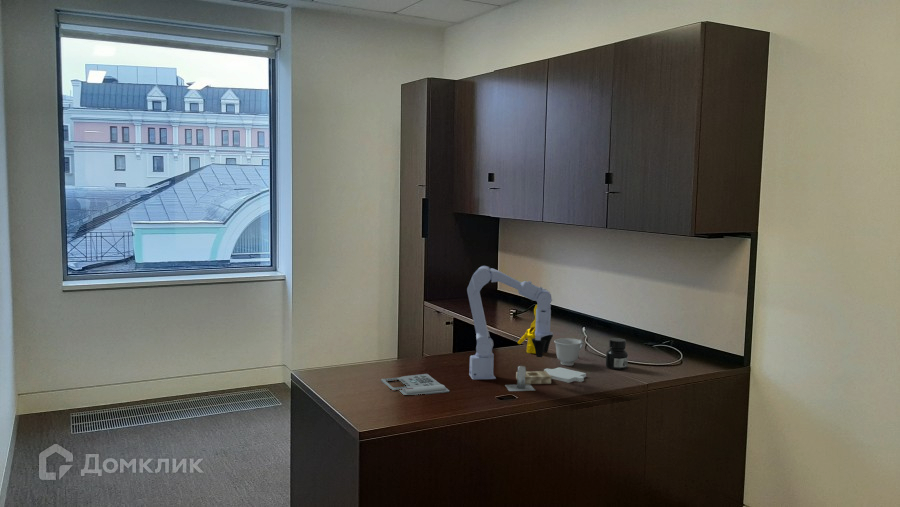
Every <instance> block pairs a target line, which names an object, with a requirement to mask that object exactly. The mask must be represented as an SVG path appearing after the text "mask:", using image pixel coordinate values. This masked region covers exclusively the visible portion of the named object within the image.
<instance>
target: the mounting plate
mask: <svg viewBox="0 0 900 507" xmlns="http://www.w3.org/2000/svg"><path fill="white" fill-rule="evenodd" d="M543 371H546V372H547V373H548V374H549V375H550V376H551V380H556V381H560V382H565V383H567V384H570V383H572V382H579V383H582V382H584V380H585V378H586V377H587V373H586V372H582V371H578V370H573V369H569V368H565V367H559V366H558V367H556V368H544V369H543Z"/></svg>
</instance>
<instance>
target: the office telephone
mask: <svg viewBox="0 0 900 507" xmlns="http://www.w3.org/2000/svg"><path fill="white" fill-rule="evenodd" d="M393 380H399V381H401V382H402V383H403V384H405V385H406V386H405V385H404V386H397V387H396V386H395V387H393V386H392V385H391V384H390V382H386V381H393ZM381 381H382V382H383V383H384V384H385V385H387V386H388V387H389V388H390V389H392V390H399V389H400V390H399V391H400V392H401V393H402V394H403V395H415V396H423V395H422V394H425V395H432V394H442V393H450V389H448V388H447V387H446V386H445V385H444V384H442V383H440V382H439V381H437V380H436V379H435V378H433V377H432V376H431V375H429V374H428V373H422V374H413V375H404V376H400V377H399V376H398V377H392V378H391V377H389V378H381V379H380V382H381ZM399 381H398V382H399ZM382 382H381V383H382ZM401 382H400V383H401ZM383 383H382V384H383ZM402 383H401V384H402ZM384 384H383V385H384ZM403 384H402V385H403ZM385 385H384V386H385ZM390 389H389V390H390ZM401 389H402V390H401ZM399 391H398V392H399ZM400 392H399V393H400ZM401 393H400V394H401ZM402 394H401V395H402ZM418 394H419V395H418ZM420 394H421V395H420ZM403 395H402V396H403Z"/></svg>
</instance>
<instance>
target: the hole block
mask: <svg viewBox="0 0 900 507" xmlns="http://www.w3.org/2000/svg"><path fill="white" fill-rule="evenodd" d="M517 373H518V371H516V372H515V379H516V380H517ZM525 384H530V385H542V384H543V385H544V384H545V385H548V384H552V378H551V376H550V375H549V374H548V373H547V372H546V371H544V370H539V371H538V370H535V371H534V370H533V371H527V370H526V373H525Z"/></svg>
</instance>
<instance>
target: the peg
mask: <svg viewBox="0 0 900 507" xmlns="http://www.w3.org/2000/svg"><path fill="white" fill-rule="evenodd" d="M526 369H527V368H526V366H524V365H518V366H517V372H518V373H517V379H516V380H517V381H516V385H517V388H519V389H524V388H525V373H526V371H527V370H526Z"/></svg>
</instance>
